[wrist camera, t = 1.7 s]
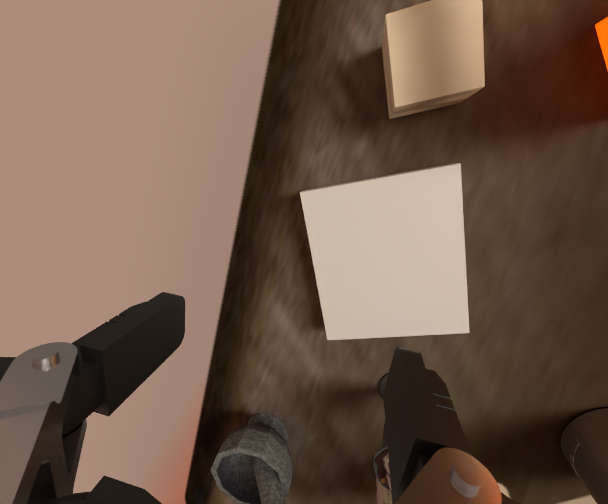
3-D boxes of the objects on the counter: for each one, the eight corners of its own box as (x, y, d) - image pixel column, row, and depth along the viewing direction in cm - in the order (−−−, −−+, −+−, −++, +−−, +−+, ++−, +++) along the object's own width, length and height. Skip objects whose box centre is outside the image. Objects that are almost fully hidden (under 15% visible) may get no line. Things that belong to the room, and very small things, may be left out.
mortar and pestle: (234, 447, 44) (188, 546, 32) (234, 396, 41) (184, 485, 30) (308, 466, 42) (287, 578, 30) (313, 414, 39) (292, 516, 28)
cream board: (450, 163, 27) (460, 163, 24) (460, 317, 31) (469, 332, 28) (306, 189, 31) (299, 192, 28) (330, 325, 35) (327, 340, 32)
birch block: (455, 26, 24) (481, -16, 19) (459, 103, 26) (484, 86, 20) (381, 47, 26) (385, 14, 20) (389, 119, 27) (394, 107, 22)
